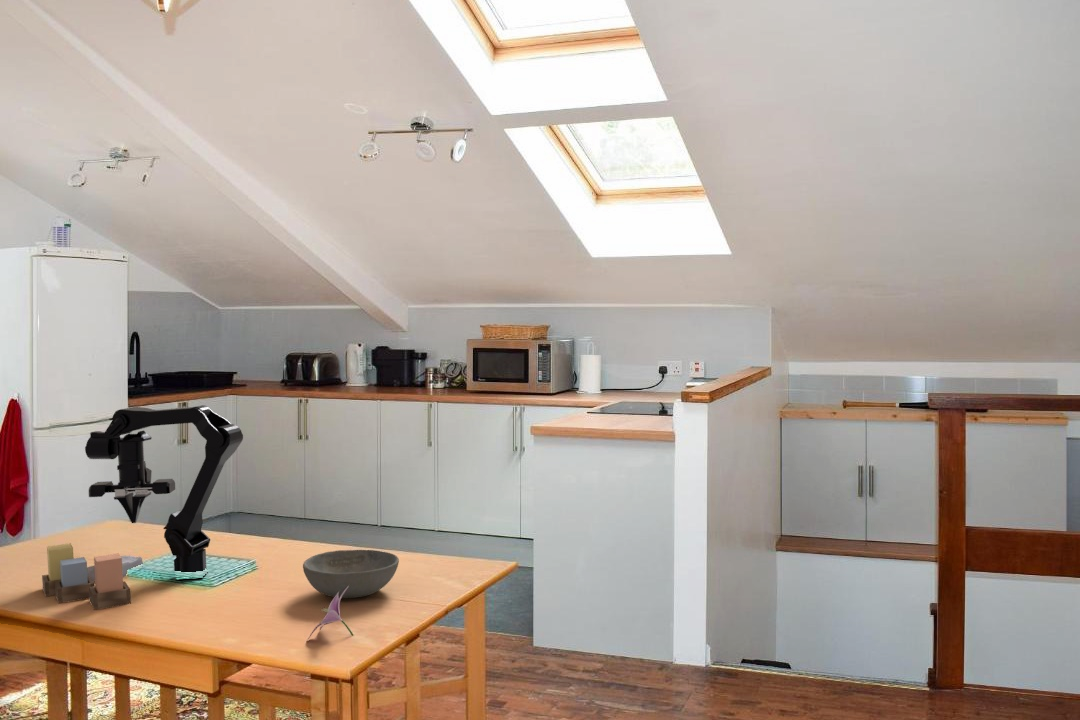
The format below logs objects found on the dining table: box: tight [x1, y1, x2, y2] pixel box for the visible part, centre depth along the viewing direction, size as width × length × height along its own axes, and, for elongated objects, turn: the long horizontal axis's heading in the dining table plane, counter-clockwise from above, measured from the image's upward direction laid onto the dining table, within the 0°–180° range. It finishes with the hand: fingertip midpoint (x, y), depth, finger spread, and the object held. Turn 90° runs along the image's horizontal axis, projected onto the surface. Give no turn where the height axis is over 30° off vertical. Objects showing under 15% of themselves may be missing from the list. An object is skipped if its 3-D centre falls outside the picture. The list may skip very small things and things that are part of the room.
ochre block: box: [46, 543, 75, 581], centre depth 218 cm, size 5×5×8 cm
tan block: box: [93, 552, 124, 593], centre depth 207 cm, size 5×5×8 cm
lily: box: [306, 586, 354, 643], centre depth 182 cm, size 12×12×10 cm
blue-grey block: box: [60, 556, 88, 588], centre depth 212 cm, size 5×5×8 cm
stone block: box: [87, 555, 144, 582], centre depth 230 cm, size 12×5×10 cm
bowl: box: [302, 549, 400, 599], centre depth 209 cm, size 21×21×8 cm
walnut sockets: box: [41, 574, 132, 611], centre depth 213 cm, size 15×25×3 cm, turn 32°
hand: (134, 522), depth 228 cm, fingers closed
